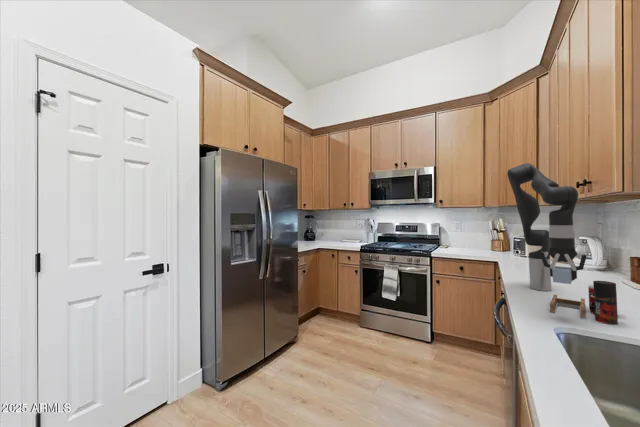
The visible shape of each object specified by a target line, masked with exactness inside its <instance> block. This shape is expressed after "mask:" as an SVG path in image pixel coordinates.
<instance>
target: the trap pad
mask: <svg viewBox="0 0 640 427" xmlns="http://www.w3.org/2000/svg"><path fill="white" fill-rule="evenodd" d="M557 307H562V308H569V309H574V310H580V306H577V305H570V304H564V303H557Z"/></svg>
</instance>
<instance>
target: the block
mask: <svg viewBox="0 0 640 427" xmlns="http://www.w3.org/2000/svg"><path fill="white" fill-rule="evenodd" d="M552 273H553V278H552V283H557V284H567V285H571V284H572V282H573V281H574V280H572V268H571V266H570V267H569V266H559V265H558V266H556V265H555V266H554V268H553V269H552Z"/></svg>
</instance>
